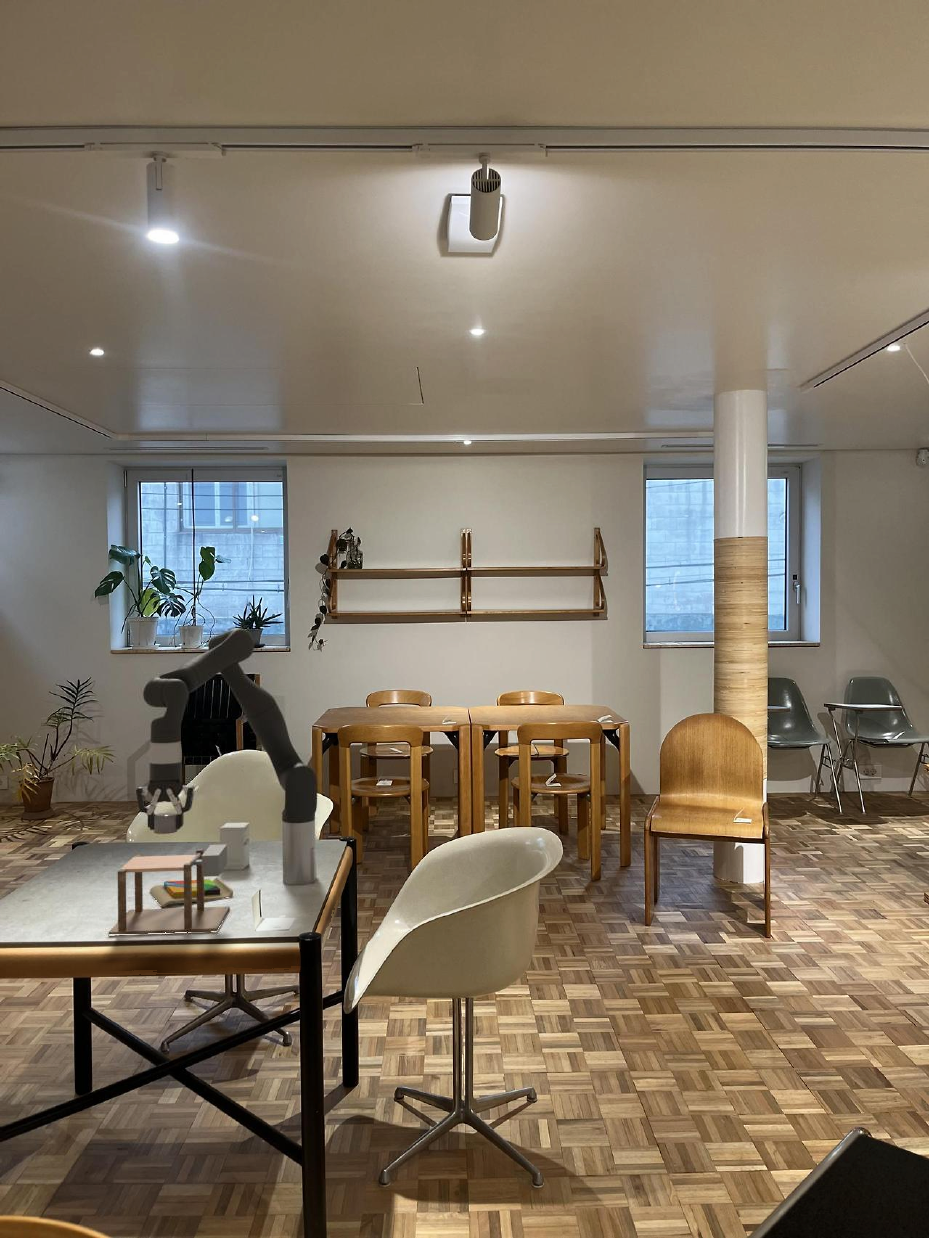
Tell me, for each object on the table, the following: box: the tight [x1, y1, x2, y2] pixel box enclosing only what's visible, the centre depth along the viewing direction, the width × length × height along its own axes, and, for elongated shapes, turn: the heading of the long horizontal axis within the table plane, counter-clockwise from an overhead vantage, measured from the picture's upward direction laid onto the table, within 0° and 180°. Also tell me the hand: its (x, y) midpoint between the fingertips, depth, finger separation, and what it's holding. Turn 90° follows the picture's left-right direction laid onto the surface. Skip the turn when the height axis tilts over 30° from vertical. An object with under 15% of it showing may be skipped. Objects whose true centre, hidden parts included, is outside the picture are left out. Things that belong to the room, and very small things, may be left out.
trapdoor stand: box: [108, 848, 231, 935], centre depth 226 cm, size 25×17×16 cm
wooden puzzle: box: [149, 877, 234, 908], centre depth 250 cm, size 18×19×4 cm
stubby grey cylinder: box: [153, 812, 179, 835], centre depth 226 cm, size 6×6×4 cm
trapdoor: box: [119, 844, 227, 878], centre depth 226 cm, size 23×12×5 cm, turn 94°
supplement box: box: [219, 822, 250, 871], centre depth 278 cm, size 7×7×13 cm
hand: (165, 828), depth 226 cm, fingers closed on stubby grey cylinder, 5 cm apart
